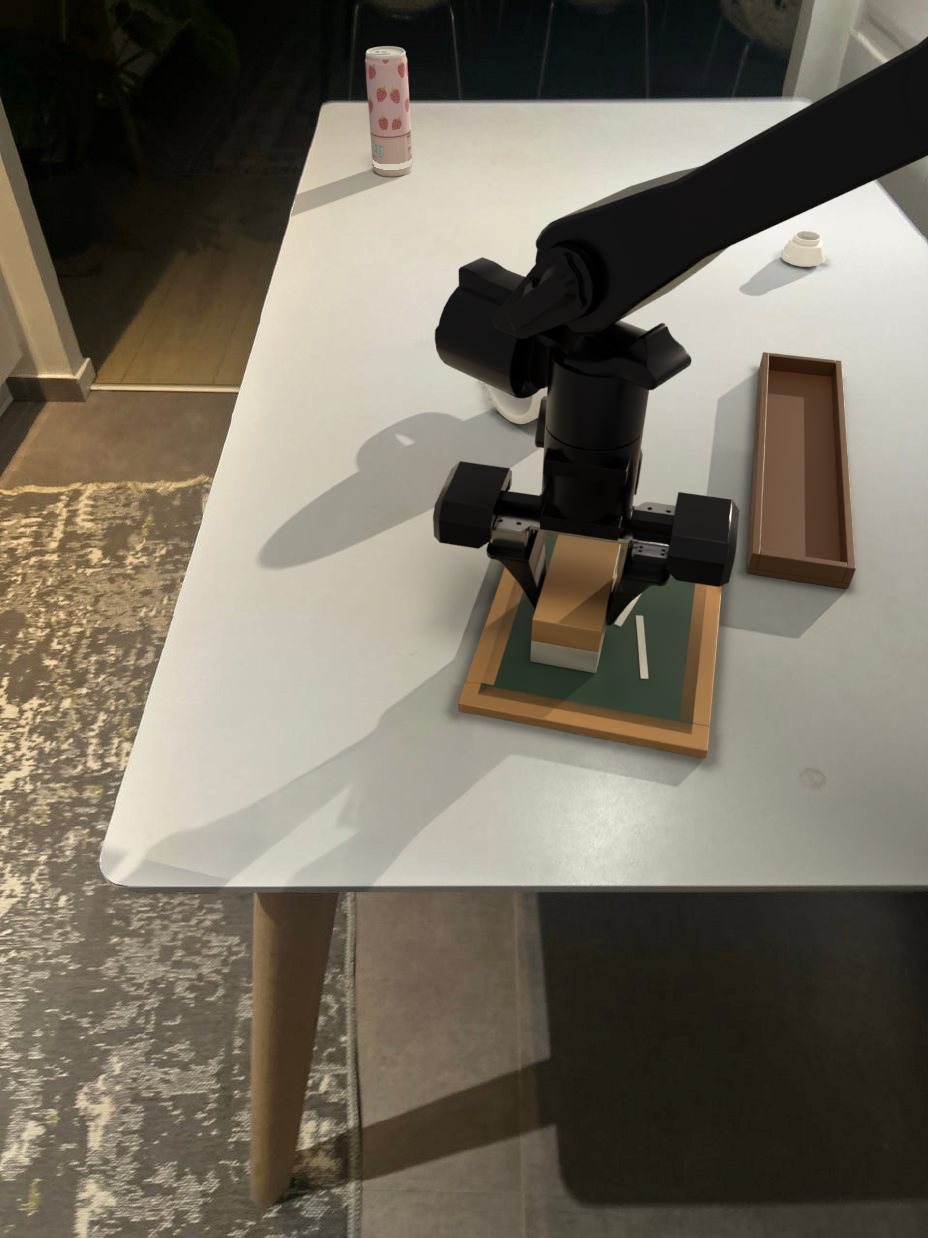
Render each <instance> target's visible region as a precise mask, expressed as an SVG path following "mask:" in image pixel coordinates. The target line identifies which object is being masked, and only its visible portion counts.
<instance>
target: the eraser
mask: <svg viewBox="0 0 928 1238" xmlns="http://www.w3.org/2000/svg"><path fill="white" fill-rule="evenodd" d="M620 547H621V544H617V543H611V542H604V541H598V540H592V539H585V538H579V537H572V536H566V535H559V534H558V536H557V540H556V543H555V546H554V550H553V553H552V556H551V560H550V563H549V566H548V570H547V573H546V576H545V580H544V583H543V586H542V590H541V593H540V596H539V600H538V603H537V606H536V610H535V613H534V616H533V620H532V638H531V655H530V661H531V662H537V663H542V664H548V665H553V666H559V667H564V668H570V669H575V670H581V671H586V672H591V673H596V671H597V666H598V662H599V657H600V652H601V648H602V643H603V639H604V634H605V629H606V618H607V611H608V606H609V602H610V597H611V593H612V590H613V586H614V583H615V580H616V575H617V568H618V561H619V554H620Z"/></svg>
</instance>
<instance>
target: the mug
mask: <svg viewBox="0 0 928 1238" xmlns="http://www.w3.org/2000/svg"><path fill="white" fill-rule="evenodd" d="M483 384H484V387H485V390H486V392H487V393H486V394H487V395H488V397H489V400H490V401H491V403H492V404H493V406H494V407H495V409H496V410H497V412H499V414H501V416H502V417H504V418H505V419H506V420H508V421H509V422H510V423H514V424H517V425H525V424H528V423H530V422H532V421H535V420H536V419H537V420H538V414H539V408H540V403H541V399H542V398H543V397H544V396H547V387H546V388H544V389H540V390H539V391H538V392H537V393H536V394H534V395H532V396H530V397H527V398H524V399H522V398H516V397H513V396H511V395H509V394H507V393H505V392H503V391H501V390H499V389H496V388H494V387H492V386H490V385H488V384H486V383H484V382H483Z"/></svg>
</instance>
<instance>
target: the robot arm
mask: <svg viewBox="0 0 928 1238" xmlns="http://www.w3.org/2000/svg"><path fill="white" fill-rule="evenodd" d="M926 157H928V35H927V36H926V37H925V38H924V39H922V40H921V41H920V42H919V43H917V44H916V45H914V46H912V47H910V48H909V49H907V50H905V51H903V52H902V53H900V54H898V55H896V56H894V57H893V58H890V59H889V60H887V61H886V62H884V63H882V64H880V65H878V66H877V67H874V68H873V69H871V70H870V71H867V72H866V73H864V74H862V75H860V76H859V77H857V78H856V79H854V80H852V81H850V82H849V83H848V82H847V83H846V84H844V85H843V86H841V87H839V88H837V89H836V90H834V91H832V92H831V93H829V94H827V95H825V96H823V97H822V98H819V99H818V100H815V102H812V103H811V104H809V105H808V106H805V107H804V108H802V109H800V110H799V111H797V112H795V113H793V114H791V115H790V116H787V117H786V118H785V119H782V120H780V121H779V122H777V123H776V124H773V125H772V126H769V127H768V128H766V129H765V130H763V131H761V132H759V133H758V134H756V135H753V136H752V137H750V138H749V139H747V140H745V141H743V142H742V143H739V144H738V145H736V146H734V147H733V148H731V149H729V150H728V151H726V152H724V153H722V154H720V155H718V156H717V157H715V158H713V159H712V160H710V161H708V162H706V163H704V164H703V165H699V166H696V167H691V168H686V169H682V170H677V171H674V172H671V173H667V174H663V175H662V176H658V177H656V178H651V179H649V180H646V181H642V182H639V183H635V184H633V185H629V186H627V187H625V188H623V189H621V190H618V191H616V192H614V193H612V194H609V195H607V196H605V197H603V198H601V199H599V200H597V201H594V202H592V203H589V204H588V205H585V206H583V207H581V208H579V209H577V210H575V211H572V212H571V213H568V214H566V215H564V216H562V217H559V218H557V219H555V220H553V221H551V222H549V223H548V224H547V225H546V226H545V227H544V228H543V229H542V230H541V231H540V233H539V234H538V237H536V240H535V248H536V254H535V260H534V261H535V264H534V265H533V267H532V268H531V269H530V270H529V271H528V272H527V274H526V276H524V275H521V274H519V273H516V272H514V271H511V270H508V269H506V268H505V267H503V266H502V265H500V264H499V263H497V262H495V261H494V260H491V259H488V258H486V257H483V256H482V257H479V258H477V259H475V260H473V261H471V262H468V263H467V264H464V265H462V266H460V267H459V268H458V286H457V287H456V288H455V289H454V290H453V292H452V293H451V294H450V296H449V297H448V299H447V300H446V303H445V304H444V306H443V309H442V311H441V315H440V317H439V320H438V325H437V326H436V328H435V330H434V343H435V350H436V353H437V355H438V357H439V359H440V360H441V361H442V362H443V364H444V365H446V366H448V367H450V368H451V369H454V370H456V371H458V372H460V373H463V374H465V375H467V376H469V377H472V378H473V379H476V380H478V381H479V382H481V383H483V384H484V383H486V384H488V385H490V386H492V387H494V388H496V389H499V390H501V391H503V392H505V393H507V394H509V395H511V396H513V397H516V398H522V399H524V398H527V397H530V396H532V395H534V394H536V393H537V392H538V391H539V390H540V389H544V388H546V387H547V396H544V397H543V398H542V399H541V403H540V408H539V414H538V418H537V420H536V425H535V426H536V427H535V437H534V446H535V448H538V449H543V458H542V476H541V493H540V494H539V495H538V494H531V493H526V492H525V493H524V492H517V491H511V488H512V485H513V471H512V470H511V468H510V467H506V466H505V467H504V466H497V465H489V464H483V463H482V464H481V463H476V462H467V461H461V460H459V462H458V463H456V464H455V465H454V466H453V467H451V469H450V471H449V473H448V475H447V477H446V480H445V482H444V484H443V486H442V488H441V490H440V492H439V494H438V497H437V499H436V501H435V503H434V507H433V514H432V524H433V525H432V526H433V537H434V538H435V539H436V541H438V543H440V544H445V545H451V546H457V547H464V548H471V549H475V550H479V549H481V548H483V547H484V546H485V545H486V550H485V551H486V552H485V553H486V556H487V557H488V559H491V560H493V561H498V562H500V563H501V564H502V565H503V566H504V568H506V569H507V570H508V571H509V572H510V573H511V575H512V576H513V577H514V578H515V579H516V581H517V582H518V583H519V585H520V586H521V588H522V589H523V591H524V592H525V594H526V596H527V597H528V599H529V601H530V602H531V604H532V605H533V607H534V609H535V610H536V606H537V603H538V600H539V596H540V593H541V590H542V586H543V583H544V580H545V576H546V557H545V531H546V532H552V533H559V534H565V535H572V536H578V537H585V538H592V539H598V540H605V541H611V542H618V543H624V544H626V548H625V551H624V555H623V558H622V561H621V564H620V567H619V570H618V574H617V577H616V580H615V583H614V586H613V590H612V593H611V597H610V602H609V606H608V611H607V618H606V625H609V626H611V625H612V624H613V623H614V621H615V620H616V619H617V618H618V617H619V615H620V614H621V613H622V612H623V611H624V609H625V608H626V607H627V606H628V605H629V604H630V603H631V602H632V601H633V600H634V599H635V598H636V597H638V596H639V595H640V594H641V593H643V592H644V591H645V590H646V589H648V588H649V587H650V586H653V585H654V586H664V585H666V584H667V583H668V582H669V578H670V574H671V575H672V576H673V577H674V578H675V579H676V580H677V581H684V582H690V583H696V584H702V585H709V586H715V587H720V586H722V587H723V586H725V585H727V584H729V583H730V580H731V576H732V572H733V568H734V565H735V560H736V552H737V545H738V534H739V533H738V531H739V519H740V509H739V508H738V506H737V504H736V502H735V501H734V500H733V498H732V499H731V498H724V497H717V496H709V495H704V494H696V493H689V492H682V491H678V493H677V495H676V501H675V505H673V504H665V503H659V502H653V501H652V502H651V501H644V502H642V503H641V504H639V505H637V506H635V505H634V498H635V496H637V493H638V488H639V483H640V478H641V471H642V470H641V469H642V462H643V456H644V455H643V449H642V443H643V435H644V429H645V423H646V422H645V421H646V415H647V408H648V403H649V402H648V400H649V394H650V391H654V390H656V389H657V388H659V387H660V386H662V385H663V384H665V383H666V382H668V381H670V379H672V378H673V377H674V378H675V376H676V375H678V374H680V373H681V372H682V371H684V370H686V369H687V368H688V367H690V366H691V364H692V356H691V355H690V354H689V352H688V351H687V350H686V348H685V346H684V345H682V343H680V342H679V341H678V340H676V339H675V337H674V336H673V335H672V334H671V332H670V329H669V326H668V325H667V324H666V323H664V322H660V323H658V324H657V325H655V326H653V327H652V328H650V329H649V330H647V329H644V328H641V327H638V326H637V325H633V324H630V323H628V322H626V321H623V320H622V319H625V318H627V317H629V315H632V314H633V313H636V312H637V311H639V310H640V309H642V308H643V307H645V306H647V305H649V304H651V303H652V302H654V301H656V300H658V299H659V298H661V297H663V296H665V295H666V294H669V293H670V292H671V291H673V290H674V289H676V288H677V287H678V286H680V285H681V284H682V283H684V282H685V281H687V280H689V278H691V277H692V276H694V275H695V274H697V273H698V272H699V271H700V270H702V269H703V268H705V267H706V266H708V265H709V264H710V263H712V262H713V261H714V260H716V259H717V258H718V257H719V256H720V255H721V254H722V253H724V251H726V250H727V249H729V248H730V247H732V246H734V245H737V244H738V243H740V242H743V241H745V240H747V239H749V238H752V237H753V236H755V235H758V234H760V233H762V232H765V231H766V230H768V229H771V228H773V227H776V226H777V225H780V224H782V223H784V222H787V221H789V220H790V219H793V218H795V217H797V216H799V215H801V214H804V213H806V212H808V211H810V210H812V209H815V208H818V207H819V206H822V205H823V204H825V203H828V202H830V201H832V200H834V199H837V198H839V197H841V196H844V195H846V194H847V193H850V192H852V191H854V190H857V189H858V188H861V187H863V186H865V185H867V184H870V183H872V182H874V181H876V180H878V179H880V178H882V177H885V176H887V175H889V174H891V173H894V172H896V171H898V170H900V169H902V168H905V167H907V166H909V165H911V164H913V163H916V162H917V161H920V160H922V159H924V158H926Z"/></svg>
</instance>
